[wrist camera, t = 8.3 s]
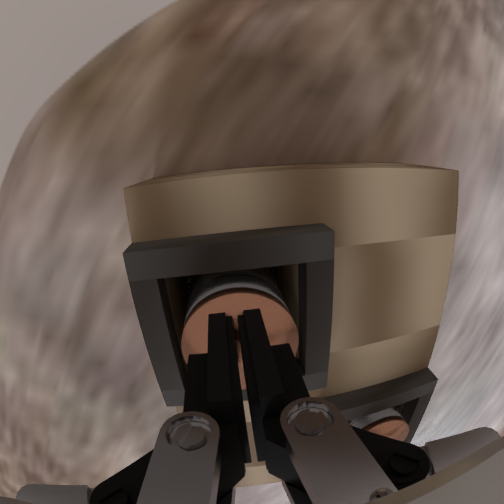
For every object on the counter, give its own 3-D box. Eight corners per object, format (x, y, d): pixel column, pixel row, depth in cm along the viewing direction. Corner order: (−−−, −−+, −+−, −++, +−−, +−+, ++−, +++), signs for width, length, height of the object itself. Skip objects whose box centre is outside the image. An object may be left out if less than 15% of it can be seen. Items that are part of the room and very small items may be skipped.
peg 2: (371, 350, 19) (417, 413, 13) (363, 390, 20) (399, 451, 14) (318, 362, 19) (352, 436, 12) (315, 401, 20) (342, 470, 14)
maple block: (402, 163, 16) (476, 173, 10) (371, 410, 22) (400, 461, 16) (152, 178, 14) (112, 192, 9) (208, 439, 21) (210, 502, 15)
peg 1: (265, 234, 16) (298, 287, 9) (270, 303, 17) (298, 381, 11) (188, 242, 15) (170, 302, 9) (199, 311, 16) (193, 393, 10)
